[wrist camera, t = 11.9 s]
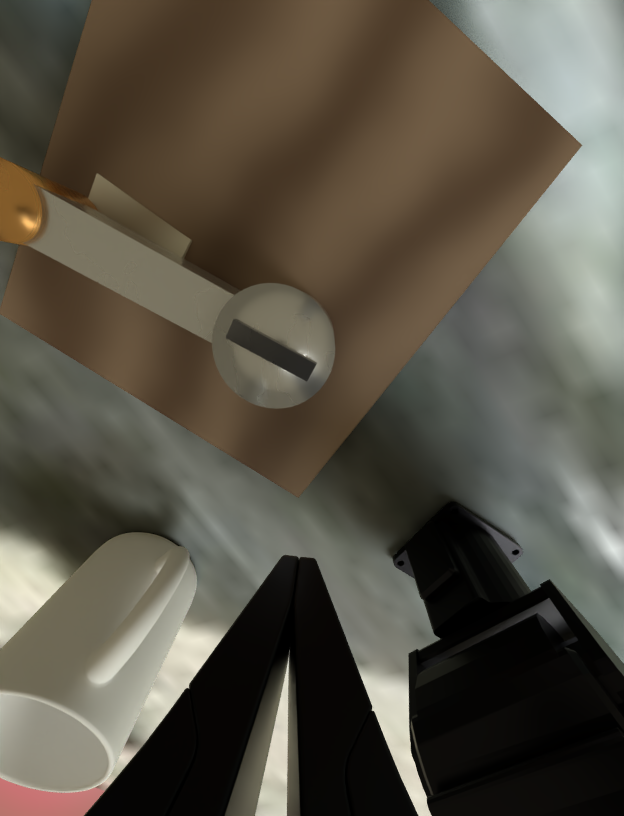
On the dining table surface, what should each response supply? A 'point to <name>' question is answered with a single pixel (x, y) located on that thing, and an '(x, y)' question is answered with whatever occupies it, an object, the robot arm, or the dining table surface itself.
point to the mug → (90, 663)
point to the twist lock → (178, 291)
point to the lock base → (284, 194)
